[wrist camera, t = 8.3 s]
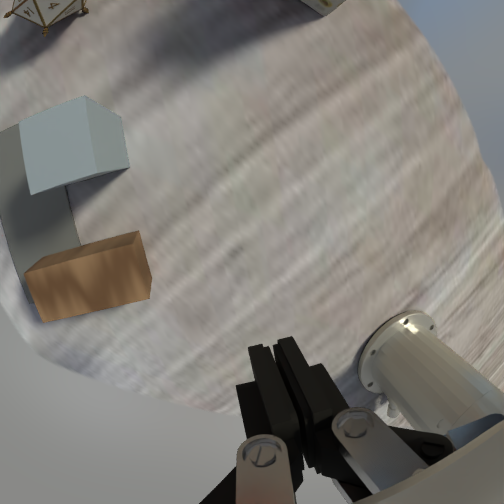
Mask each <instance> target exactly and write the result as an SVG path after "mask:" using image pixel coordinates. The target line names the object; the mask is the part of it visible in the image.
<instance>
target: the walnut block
mask: <svg viewBox="0 0 504 504" xmlns="http://www.w3.org/2000/svg"><path fill="white" fill-rule="evenodd" d="M24 277H25V279H26V282H27V285H28V287H29V290H30V293H31V295H32V298H33V300H34V303H35V305H36V307H37V310H38V312H39V314H40V317H41V319H42V321H43V323H45V322H49V321H54V320H58V319H63V318H67V317H72V316H76V315H81V314H85V313H90V312H94V311H99V310H103V309H107V308H112V307H116V306H120V305H124V304H129V303H133V302H137V301H141V300H146V299H150V290H151V282H152V276H151V273H150V269H149V266H148V262H147V259H146V255H145V251H144V248H143V244H142V240H141V236H140V233H139V231H135V232H131V233H127V234H123V235H120V236H116V237H112V238H108V239H105V240H101V241H97V242H94V243H90V244H86V245H83V246H79V247H76V248H72V249H68V250H65V251H62V252H58V253H55V254H51V255H48V256H44V257H42V258H41V259H40V260H38V261H37V262H36V263H35V264H34V265H33V266H31V267H30V268H29V269H28V270H27V271H26V272H25V273H24Z"/></svg>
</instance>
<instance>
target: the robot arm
mask: <svg viewBox="0 0 504 504" xmlns="http://www.w3.org/2000/svg"><path fill="white" fill-rule="evenodd" d="M273 350H274V356H275V360H274V358H273V355H272V353H271V350H270V348H269V346H267V347H263V345H262V344H259V345H255V346H250V347H248V351H249V356H250V360H251V365H252V369H253V374H254V378H255V381H253V382H248V383H244V384H239V385H236V390H237V395H238V400H239V404H240V409H241V414H242V418H243V423H244V428H245V432H246V437H247V440H246V441H244V442H243V443H242V444H241V445H240V447H239V448H238V451H237V463H236V467H235V468H234V469H233V470H232V471H231V472H230V473H229V474H228V475H227V476H226V477H225V478H224V479H223V480H222V481H221V483H219V484H218V485H217V486H216V488H214V490H212V491H211V492H210V494H208V495H207V496H206V497H205V498H204V499H203V500H202V501H201V502H200V503H199V504H297V502H296V495H295V492H296V491H297V489H298V488H299V486H300V485H301V483H302V482H303V474H302V470H304V461H303V455H304V458H305V460H306V463H307V465H308V467H309V468H312V467H314V468H315V470H316V473H317V474H319V473H321V474H322V475H323V476H326V477H330V478H331V479H332V481H333V483H334V485H335V486H336V487H337V489H338V490H339V492H340V493H341V494H342V496H343V497H344V499H345V500H346V502H347V503H348V504H504V392H502V391H501V390H500V389H498V388H497V387H496V386H495V385H494V384H493V383H491V382H490V381H489V380H488V379H487V378H486V377H484V376H483V375H482V374H481V373H480V372H478V371H477V370H476V369H475V368H474V367H473V366H471V365H470V364H469V363H468V362H466V361H465V360H464V359H463V358H462V357H460V356H459V355H458V354H457V353H456V352H454V351H453V350H452V349H451V348H449V347H448V346H447V345H446V344H444V343H443V342H442V341H441V340H439V339H438V338H437V327H436V324H435V322H434V320H433V319H432V318H431V317H430V316H429V315H427V314H426V313H424V312H422V311H416V310H414V311H407V312H405V313H402V314H399V315H398V316H396V317H394V318H392V319H391V320H389V321H388V322H387V323H385V324H384V325H383V326H382V327H381V328H380V329H379V330H378V331H377V332H376V333H375V334H374V335H373V337H372V338H371V339H370V341H369V342H368V344H367V345H366V347H365V349H364V351H363V353H362V355H361V358H360V361H359V366H358V376H359V379H360V382H361V383H362V384H363V386H364V387H365V388H366V389H367V390H368V391H371V392H373V393H385V395H386V396H387V397H388V402H389V405H388V410H387V415H388V416H389V417H391V418H395V417H397V416H398V415H399V413H400V412H401V413H402V415H403V416H404V417H405V418H406V420H407V421H408V422H409V423H410V425H411V426H412V427H413V428H414V429H415V430H409V429H403V428H398V427H392V426H387V425H386V424H385V423H384V422H383V421H382V420H381V419H380V418H379V417H378V416H377V415H376V414H375V413H374V412H373V411H371V410H369V409H366V408H361V407H354V408H350V407H349V406H348V404H347V403H346V401H345V399H344V398H343V396H342V395H341V393H340V391H339V390H338V388H337V387H336V385H335V383H334V382H333V380H332V379H331V377H330V375H329V374H328V372H327V370H326V369H325V367H324V366H323V365H322V364H321V363H320V364H317V365H313V366H310V367H309V365H308V363H307V362H306V360H305V358H304V356H303V354H302V353H301V351H300V349H299V347H298V345H297V344H296V342H295V340H294V338H293V337H292V336H291V337H287V338H283V339H279V340H278V344H275V345H273ZM275 361H276V363H275Z"/></svg>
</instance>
